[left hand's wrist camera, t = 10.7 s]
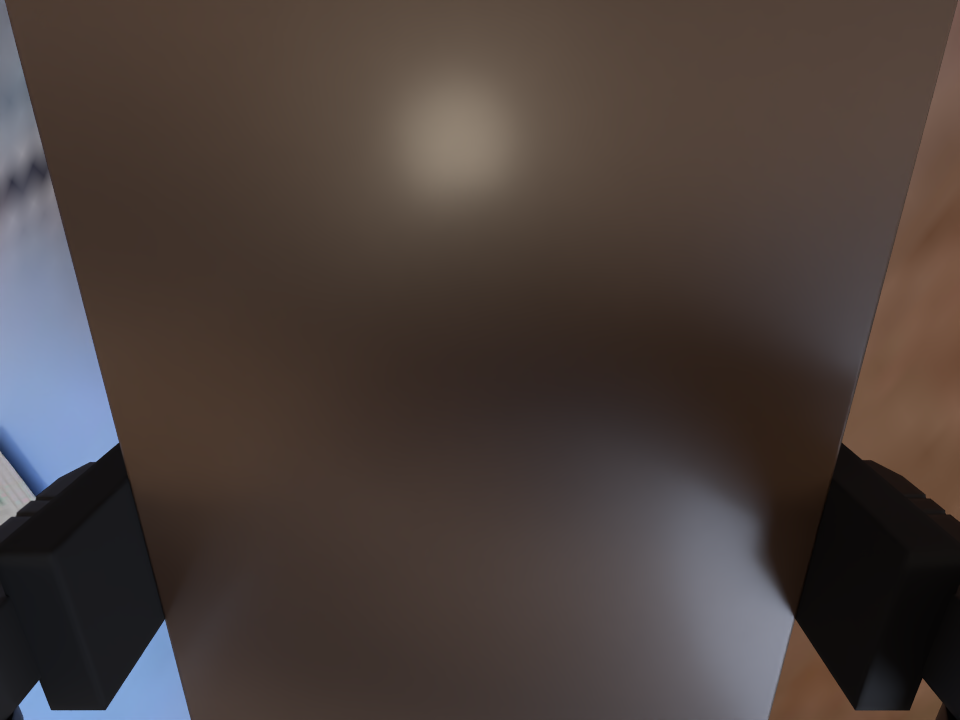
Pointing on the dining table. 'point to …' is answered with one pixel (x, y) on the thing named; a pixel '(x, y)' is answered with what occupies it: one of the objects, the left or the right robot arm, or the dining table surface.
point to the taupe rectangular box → (480, 330)
